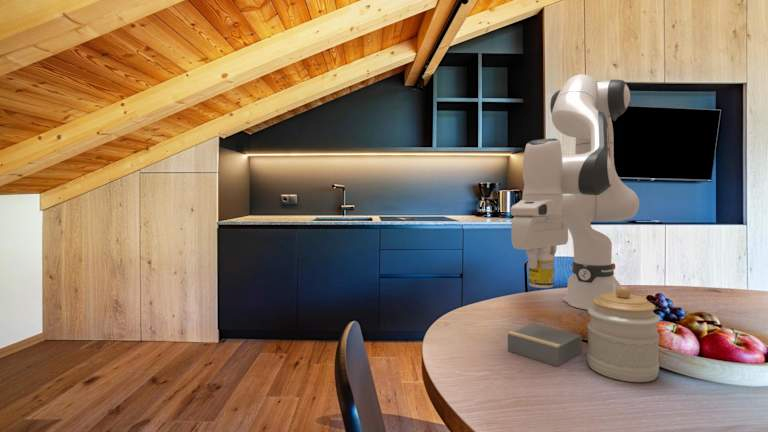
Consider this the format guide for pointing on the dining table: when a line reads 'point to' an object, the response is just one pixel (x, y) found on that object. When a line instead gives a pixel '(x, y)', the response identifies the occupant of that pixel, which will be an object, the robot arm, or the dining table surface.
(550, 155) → the robot arm
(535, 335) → the block
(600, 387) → the dining table surface
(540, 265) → the supplement bottle
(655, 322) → the jar
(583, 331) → the pastry
